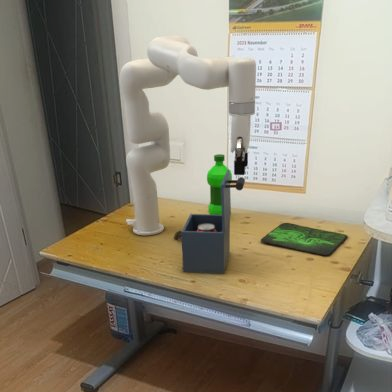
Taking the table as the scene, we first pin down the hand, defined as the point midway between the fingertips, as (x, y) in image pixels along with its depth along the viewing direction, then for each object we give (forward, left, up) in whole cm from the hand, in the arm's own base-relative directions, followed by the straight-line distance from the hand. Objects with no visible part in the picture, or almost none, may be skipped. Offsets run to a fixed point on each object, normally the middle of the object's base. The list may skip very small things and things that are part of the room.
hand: (241, 170), depth 145 cm
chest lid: (-5, 0, -9) cm, 11 cm away
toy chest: (-11, 0, -31) cm, 33 cm away
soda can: (-11, 0, -31) cm, 33 cm away
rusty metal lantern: (-21, +18, -31) cm, 42 cm away
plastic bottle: (-13, +45, -31) cm, 56 cm away
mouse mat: (+22, +23, -31) cm, 45 cm away
